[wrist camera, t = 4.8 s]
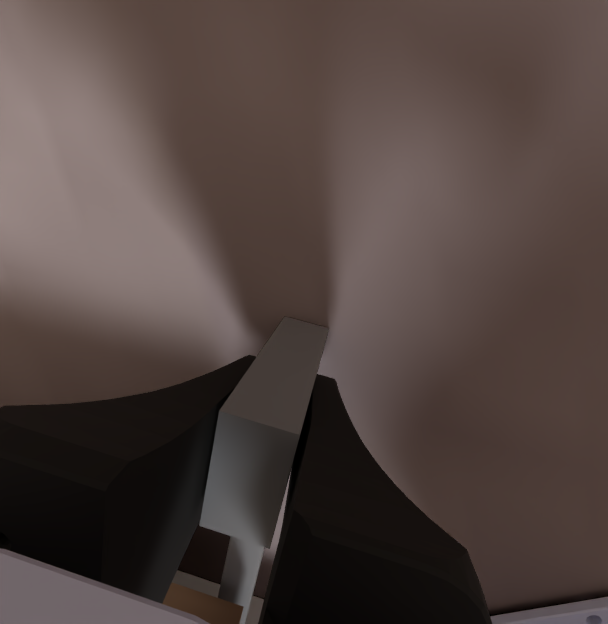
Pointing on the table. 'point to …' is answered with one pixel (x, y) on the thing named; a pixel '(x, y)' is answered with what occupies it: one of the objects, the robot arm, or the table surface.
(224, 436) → the grey t-shaped piece
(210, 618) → the tan cardboard box
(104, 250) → the table surface
